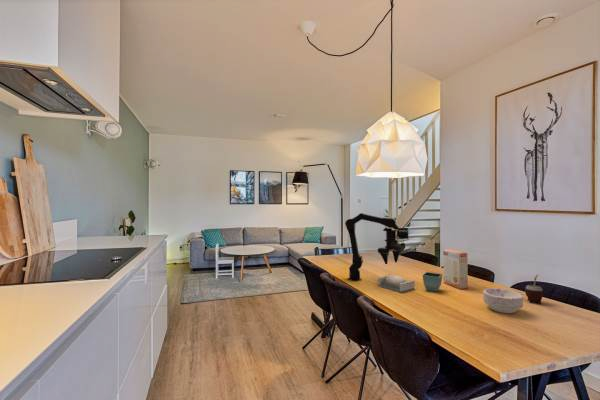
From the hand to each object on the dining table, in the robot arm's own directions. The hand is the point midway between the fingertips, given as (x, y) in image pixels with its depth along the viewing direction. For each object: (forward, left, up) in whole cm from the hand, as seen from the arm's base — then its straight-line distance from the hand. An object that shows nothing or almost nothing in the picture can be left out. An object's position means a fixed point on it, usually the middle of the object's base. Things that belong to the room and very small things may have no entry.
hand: (391, 263), depth 185 cm
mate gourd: (+65, +28, -12) cm, 72 cm away
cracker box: (+27, +25, -12) cm, 39 cm away
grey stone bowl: (+60, +4, -12) cm, 61 cm away
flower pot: (+24, +6, -12) cm, 28 cm away
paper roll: (+9, -7, -8) cm, 14 cm away
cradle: (+9, -7, -12) cm, 17 cm away
